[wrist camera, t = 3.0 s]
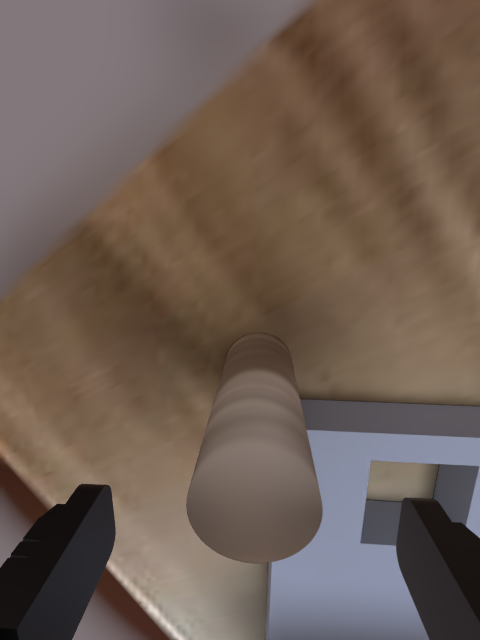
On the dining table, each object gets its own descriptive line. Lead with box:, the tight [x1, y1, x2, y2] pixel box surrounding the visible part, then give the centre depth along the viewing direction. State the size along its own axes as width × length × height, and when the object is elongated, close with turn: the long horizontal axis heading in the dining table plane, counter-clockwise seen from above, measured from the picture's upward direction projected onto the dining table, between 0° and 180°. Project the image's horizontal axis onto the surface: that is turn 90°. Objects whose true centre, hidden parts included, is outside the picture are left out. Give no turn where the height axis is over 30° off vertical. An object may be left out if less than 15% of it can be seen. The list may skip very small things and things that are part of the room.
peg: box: [186, 333, 323, 563], centre depth 14 cm, size 4×4×10 cm
